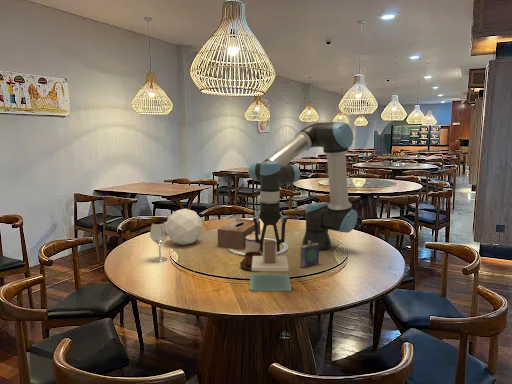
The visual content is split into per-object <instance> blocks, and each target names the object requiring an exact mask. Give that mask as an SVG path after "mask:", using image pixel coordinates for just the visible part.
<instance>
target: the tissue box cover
mask: <svg viewBox="0 0 512 384" xmlns="http://www.w3.org/2000/svg"><path fill="white" fill-rule="evenodd" d="M252 232H255V224H254V221H253V219H246V218H245V219H243V218H236V219H234V220H232V221H230V222H228V223H227V224H225V225H223V226H221V227H219V228H217V248H221V249H232V250H239V251H241V250H242V251H243V250H246V239H245V237H246V236H248V235H250V234H252ZM258 234H259V235H261V220H259V222H258Z"/></svg>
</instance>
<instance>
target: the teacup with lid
mask: <svg viewBox="0 0 512 384" xmlns="http://www.w3.org/2000/svg"><path fill="white" fill-rule="evenodd" d="M258 237H259V239H261V234H260V235H259V234H258ZM245 239H246V248H245V253H247V252H260V244H259V243H256V242H255V232H252V234H250V235H248V236H246V237H245ZM260 253H261V256H263V252H260Z"/></svg>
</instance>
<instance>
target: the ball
mask: <svg viewBox="0 0 512 384" xmlns="http://www.w3.org/2000/svg"><path fill="white" fill-rule="evenodd" d="M165 225H166V228H167V231H168V236H167V238H169V239H170V240H171V241H172V242H173V243H175V244H178V245H180V246H186V245H190V244H193V243H194V242H196V241H197V240H198V239H199V238H200V237H201V233H202V229H203V223H202V219H201V217H200V216H199V214H197V212H196V211H194V210H191V209H188V208H183V209H179V210H178V209H177V210H175V211H174V212H173V213H171V214H170V215H169V216H168V217H167V220H166V222H165Z"/></svg>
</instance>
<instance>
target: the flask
mask: <svg viewBox="0 0 512 384" xmlns="http://www.w3.org/2000/svg"><path fill="white" fill-rule="evenodd" d="M307 242H308V245H304V246H302V245H301V246H300V263H299V265H300V268H302V269H305V268H310V267H312V266H313V267H314V266H317V265H319V260H320V259H319V256H320V250H319V244H318V243H311V241H310V240H308V241H307Z"/></svg>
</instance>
